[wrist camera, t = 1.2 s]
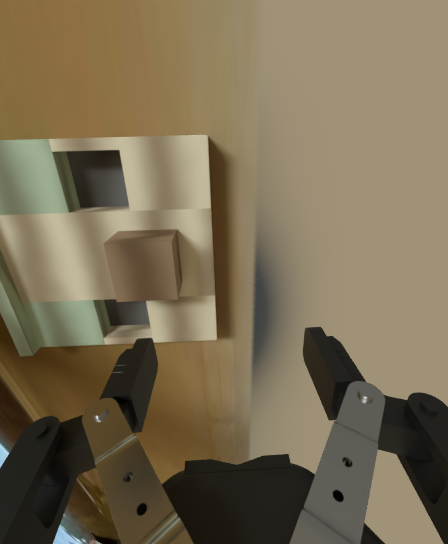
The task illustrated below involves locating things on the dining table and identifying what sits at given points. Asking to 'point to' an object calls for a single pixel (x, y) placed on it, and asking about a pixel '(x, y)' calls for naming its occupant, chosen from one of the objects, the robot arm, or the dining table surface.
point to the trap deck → (101, 238)
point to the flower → (92, 542)
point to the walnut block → (144, 265)
